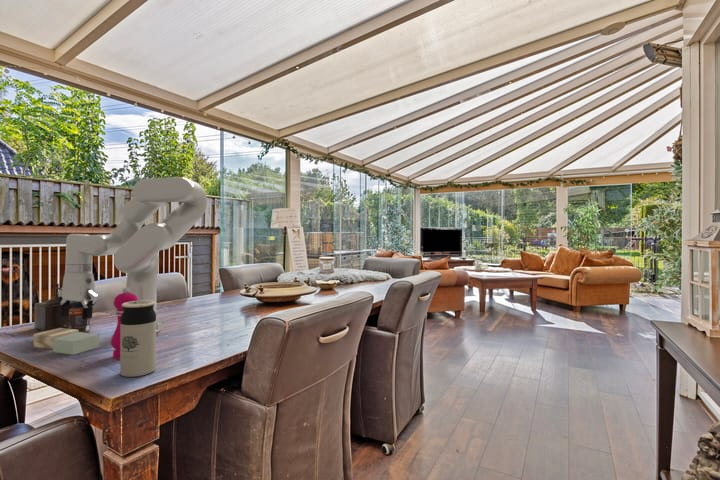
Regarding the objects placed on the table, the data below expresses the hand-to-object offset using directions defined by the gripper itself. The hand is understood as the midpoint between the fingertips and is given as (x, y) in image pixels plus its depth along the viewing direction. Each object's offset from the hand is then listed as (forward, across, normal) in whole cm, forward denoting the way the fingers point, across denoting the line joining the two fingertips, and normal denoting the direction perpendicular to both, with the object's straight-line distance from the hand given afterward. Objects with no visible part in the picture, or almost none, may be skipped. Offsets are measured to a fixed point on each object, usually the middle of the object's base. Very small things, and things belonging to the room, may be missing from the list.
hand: (76, 317), depth 133 cm
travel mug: (+4, -51, +22) cm, 56 cm away
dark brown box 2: (+6, +14, -6) cm, 17 cm away
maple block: (+6, -7, +12) cm, 15 cm away
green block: (+5, -18, +14) cm, 23 cm away
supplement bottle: (+6, -1, 0) cm, 6 cm away
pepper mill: (+5, -37, +14) cm, 40 cm away
